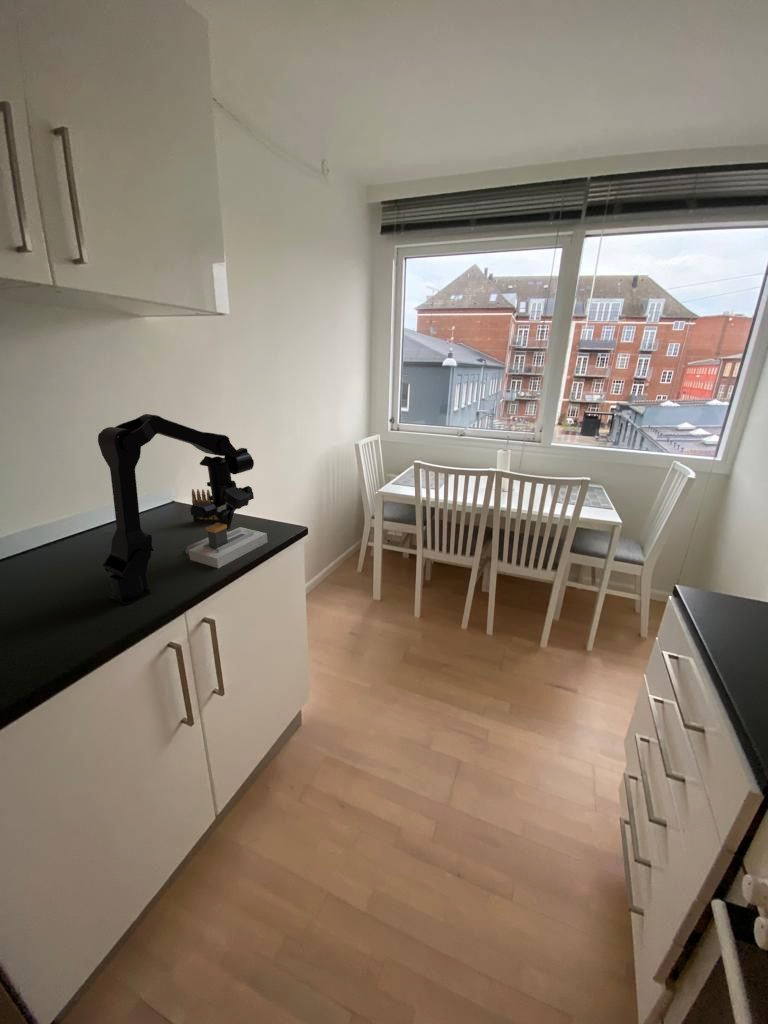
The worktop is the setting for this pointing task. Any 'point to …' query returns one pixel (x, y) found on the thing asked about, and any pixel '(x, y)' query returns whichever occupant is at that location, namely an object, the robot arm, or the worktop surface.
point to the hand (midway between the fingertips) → (227, 529)
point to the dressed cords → (197, 544)
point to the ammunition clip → (194, 501)
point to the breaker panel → (228, 547)
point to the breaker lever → (217, 535)
